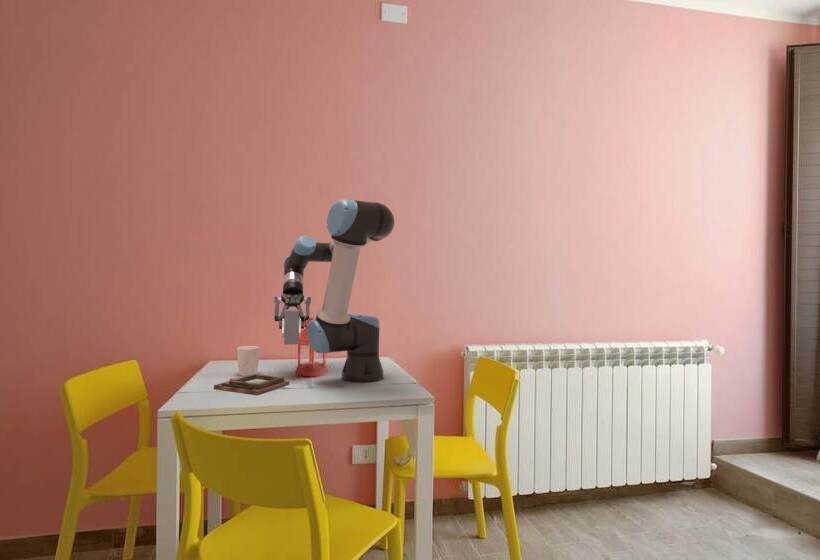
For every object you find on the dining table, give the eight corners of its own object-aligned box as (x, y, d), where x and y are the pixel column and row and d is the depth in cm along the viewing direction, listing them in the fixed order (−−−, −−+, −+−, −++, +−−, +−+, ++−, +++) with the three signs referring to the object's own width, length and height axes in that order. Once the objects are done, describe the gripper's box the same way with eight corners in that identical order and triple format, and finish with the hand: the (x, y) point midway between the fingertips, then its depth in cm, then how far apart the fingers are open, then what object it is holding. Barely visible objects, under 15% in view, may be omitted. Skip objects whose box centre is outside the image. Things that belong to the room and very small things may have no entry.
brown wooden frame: (289, 384, 173) (289, 376, 173) (257, 395, 158) (257, 386, 158) (247, 379, 180) (247, 371, 180) (213, 388, 166) (213, 380, 165)
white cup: (246, 371, 194) (246, 345, 194) (263, 373, 191) (263, 346, 191) (232, 375, 187) (232, 348, 186) (250, 377, 184) (250, 349, 184)
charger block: (298, 342, 185) (299, 309, 185) (298, 344, 180) (298, 310, 180) (284, 342, 184) (285, 309, 184) (284, 344, 179) (284, 310, 179)
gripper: (316, 293, 198) (317, 341, 183) (269, 293, 195) (265, 342, 179) (317, 280, 193) (317, 328, 177) (268, 279, 190) (264, 328, 174)
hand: (291, 335), depth 178 cm, fingers closed on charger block, 5 cm apart
